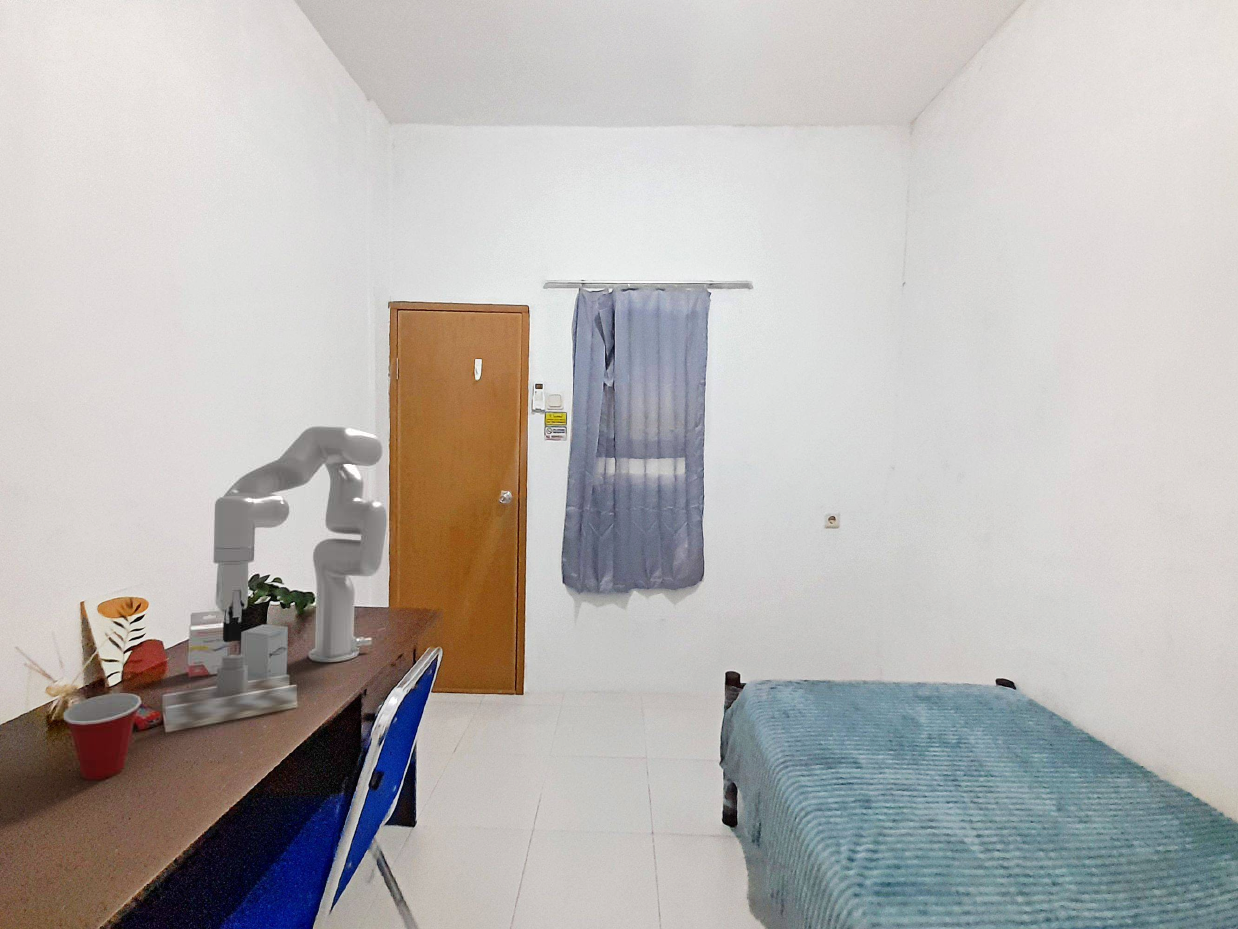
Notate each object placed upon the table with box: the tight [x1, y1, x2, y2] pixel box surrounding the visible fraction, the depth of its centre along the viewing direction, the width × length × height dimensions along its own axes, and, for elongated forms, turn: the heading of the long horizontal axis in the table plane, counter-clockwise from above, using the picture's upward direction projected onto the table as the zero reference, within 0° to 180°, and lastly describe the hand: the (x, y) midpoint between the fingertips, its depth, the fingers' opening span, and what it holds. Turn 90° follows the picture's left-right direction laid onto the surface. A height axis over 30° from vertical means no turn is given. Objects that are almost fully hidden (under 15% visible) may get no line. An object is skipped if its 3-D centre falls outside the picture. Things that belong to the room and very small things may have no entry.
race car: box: [132, 703, 163, 732], centre depth 138 cm, size 13×5×4 cm, turn 71°
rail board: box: [161, 674, 298, 733], centre depth 146 cm, size 24×10×4 cm, turn 127°
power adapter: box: [216, 644, 248, 698], centre depth 146 cm, size 3×5×12 cm, turn 97°
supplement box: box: [240, 624, 289, 681], centre depth 164 cm, size 7×7×13 cm
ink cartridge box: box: [187, 610, 231, 678], centre depth 168 cm, size 9×5×15 cm, turn 123°
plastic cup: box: [62, 692, 142, 781], centre depth 118 cm, size 11×11×12 cm
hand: (231, 640), depth 145 cm, fingers closed
